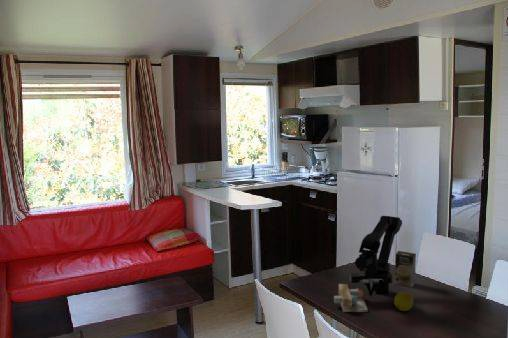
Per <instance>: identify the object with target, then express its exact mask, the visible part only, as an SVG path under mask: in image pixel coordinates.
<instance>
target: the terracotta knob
mask: <svg viewBox="0 0 508 338" xmlns="http://www.w3.org/2000/svg"><path fill="white" fill-rule="evenodd" d="M348 289H349V292H350V295H351V294H352V295H356V296H357V297H358V298H363V299H364V289H363V287H357V288H354V289H353V288H348Z"/></svg>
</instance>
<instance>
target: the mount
mask: <svg viewBox="0 0 508 338" xmlns="http://www.w3.org/2000/svg"><path fill="white" fill-rule="evenodd" d="M349 289H350V288H349V286H348V283H338V296H342V303H340V305H341V309H342V312H344V313H345V312H347V313H349V312H351V313H354V312H355V313H364V312H365V313H367V312H369V309H368V307H367V304H366V302H365V299H364V297H363V298H358V297H357V296H356V298H357V304H356V305H352V298H351V295H350V292H349Z"/></svg>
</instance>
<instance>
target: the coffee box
mask: <svg viewBox="0 0 508 338" xmlns="http://www.w3.org/2000/svg"><path fill="white" fill-rule="evenodd" d="M416 254H417V253H413V252H409V251H401V250H398V251H397V252H396V253H395V265H394V267H395V268H394V284H395V285H400V286H403V287H404V286H406V287H410V288H413V286H414V285H415V283H416V258H417V255H416Z"/></svg>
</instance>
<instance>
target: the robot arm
mask: <svg viewBox="0 0 508 338" xmlns="http://www.w3.org/2000/svg"><path fill="white" fill-rule="evenodd" d="M402 224H403V221H402V219H401V217H399V216H391V215H380V218H379V220H378V222H377V224H376V225H375V227H374V228H373V230H372V231H371V232H370V233H367V234H366V235H365V236H364V237H363V239H362V240H361V244H360V247H359V249H358V253H360V254H359V255H358V257H357V258H356V259H355V261H354V265H355V267H356V268H357V269H358V272H356V273H354V272H351V273H350V274H349V280H350V283H352V284H359V283H360V282H362V284H363V285H364V286H366V289H367V291H368V292H367V293H368V296H369V297H370V296H371V297H372V295H373V293H375V294H376V295H390V292H389V291H390V289H389V287H390V286H389V284H392V283H393V275H392V273H391V272H390V271H391V269H390V266H389V259H390V255H391V250H392V247H393V243H394V239H395V236H396V234H398V233H399V231H401V227H402ZM382 237H383V240H382V243H381V239H382ZM378 253H379V255H378ZM359 272H362V274H363V275H359Z"/></svg>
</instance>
